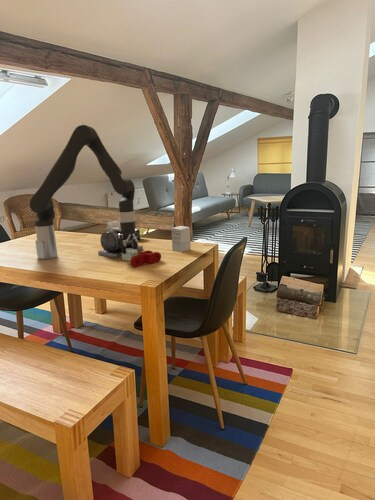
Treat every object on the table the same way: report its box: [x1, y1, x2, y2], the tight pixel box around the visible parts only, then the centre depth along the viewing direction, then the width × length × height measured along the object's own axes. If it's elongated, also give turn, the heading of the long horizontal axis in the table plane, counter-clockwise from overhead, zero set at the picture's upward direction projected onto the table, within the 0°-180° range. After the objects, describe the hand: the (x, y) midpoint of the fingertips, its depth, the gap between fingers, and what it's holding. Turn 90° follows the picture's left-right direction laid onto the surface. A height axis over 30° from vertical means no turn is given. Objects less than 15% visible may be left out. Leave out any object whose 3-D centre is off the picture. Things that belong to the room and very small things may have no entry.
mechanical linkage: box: [129, 249, 162, 268], centre depth 188 cm, size 16×7×5 cm, turn 140°
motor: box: [97, 220, 144, 259], centre depth 209 cm, size 20×14×16 cm
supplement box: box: [171, 225, 192, 253], centre depth 209 cm, size 7×7×13 cm
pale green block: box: [121, 248, 138, 262], centre depth 196 cm, size 5×8×5 cm, turn 55°
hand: (130, 251), depth 196 cm, fingers open, 8 cm apart
